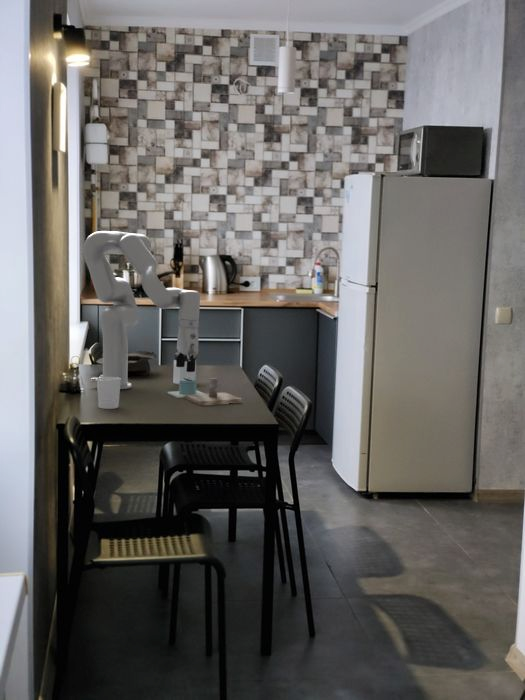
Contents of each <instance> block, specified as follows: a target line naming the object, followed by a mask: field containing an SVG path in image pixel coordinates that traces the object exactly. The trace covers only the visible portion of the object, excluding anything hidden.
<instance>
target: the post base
mask: <svg viewBox="0 0 525 700" xmlns="http://www.w3.org/2000/svg"><path fill="white" fill-rule="evenodd" d="M208 380H209V381H208V382H209V386H208V393H206V392H203V393H204V394H188V395H185V398H184V400H187V401H189V402H192V403H194V404H196V405H198V406H201V407H203V406H216V405H229V403H233V404H242V402H243V401H242V398H241V397H239V396H238V397H237V396H235V395H234V394H231V393H228V392H225V391H224V392H218V387H219V385H218V384H219V382H218V381H219V380H218V378H213V377H212V378H209V379H208Z"/></svg>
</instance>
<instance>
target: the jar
mask: <svg viewBox="0 0 525 700" xmlns="http://www.w3.org/2000/svg"><path fill="white" fill-rule="evenodd" d="M176 354H177V352H176V353H174V360H173V369H172V370H173V377H172V378H173V379H172V381H173V384H175V385H178V386H179V382H180V379H184V378H189V379H195V380H196V381H197V362H196V363H195V372H187V371H186V370H187V361H188V358H187V355H184V356H185V366H184V367H176V361H177V355H176ZM190 357H191V356H190Z"/></svg>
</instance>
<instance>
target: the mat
mask: <svg viewBox="0 0 525 700" xmlns="http://www.w3.org/2000/svg"><path fill="white" fill-rule="evenodd" d="M204 393H205V392H202V391H200V390H198V389H196V394H204ZM167 394H168V395H171V396H172V397H174V398H177V399H185V395H184V394H180V393H179V390H177V391H167Z"/></svg>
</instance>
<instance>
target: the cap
mask: <svg viewBox="0 0 525 700" xmlns="http://www.w3.org/2000/svg"><path fill="white" fill-rule="evenodd" d="M196 390H197V379H196V380H195V379H189V378H184V379H180V382H179V385H178V391H179V393H180V394H184V395H188V394H196Z"/></svg>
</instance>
